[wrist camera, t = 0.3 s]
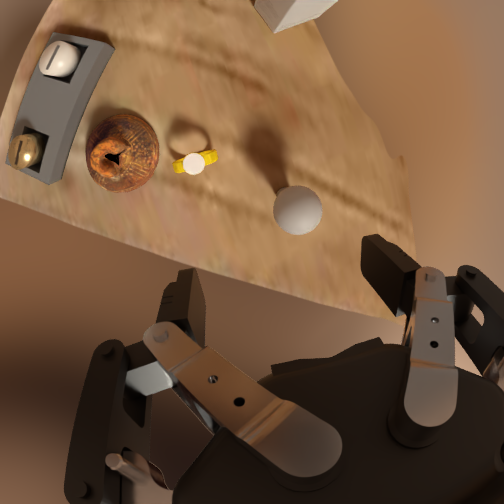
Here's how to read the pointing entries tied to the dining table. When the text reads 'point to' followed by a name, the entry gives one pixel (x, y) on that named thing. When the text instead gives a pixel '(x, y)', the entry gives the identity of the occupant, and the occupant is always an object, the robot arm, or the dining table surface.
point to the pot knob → (59, 59)
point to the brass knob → (26, 150)
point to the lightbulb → (297, 209)
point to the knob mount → (59, 105)
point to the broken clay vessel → (130, 159)
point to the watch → (195, 162)
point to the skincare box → (290, 11)
